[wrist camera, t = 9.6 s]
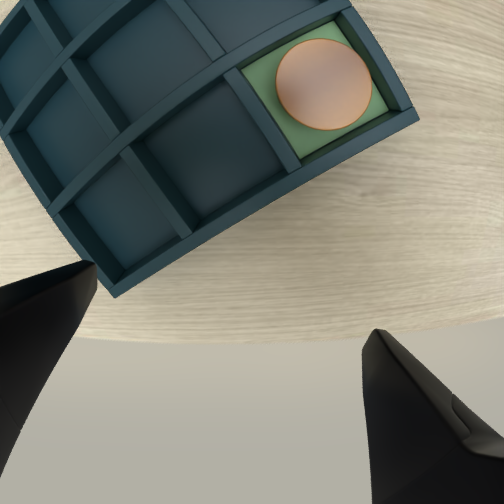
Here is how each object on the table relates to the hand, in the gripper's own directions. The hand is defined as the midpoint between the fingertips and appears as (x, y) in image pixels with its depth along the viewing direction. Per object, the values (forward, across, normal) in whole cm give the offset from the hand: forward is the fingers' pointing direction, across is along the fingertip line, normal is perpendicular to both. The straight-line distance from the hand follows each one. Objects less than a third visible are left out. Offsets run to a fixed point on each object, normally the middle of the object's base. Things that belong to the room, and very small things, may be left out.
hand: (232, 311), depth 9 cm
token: (+10, -2, -8) cm, 13 cm away
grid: (+10, +8, -7) cm, 15 cm away
